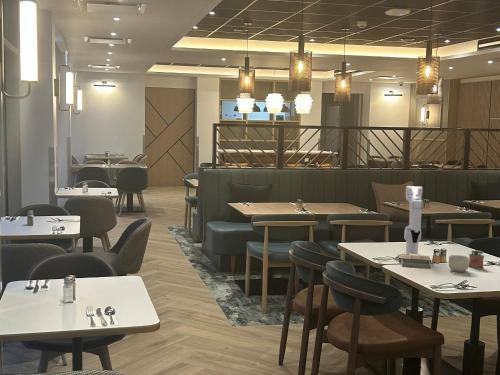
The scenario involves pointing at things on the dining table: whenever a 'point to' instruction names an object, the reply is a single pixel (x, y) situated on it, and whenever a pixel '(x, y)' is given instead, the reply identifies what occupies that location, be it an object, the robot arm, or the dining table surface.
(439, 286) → the dining table surface
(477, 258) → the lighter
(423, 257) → the board
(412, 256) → the tile
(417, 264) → the tray
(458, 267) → the teacup
